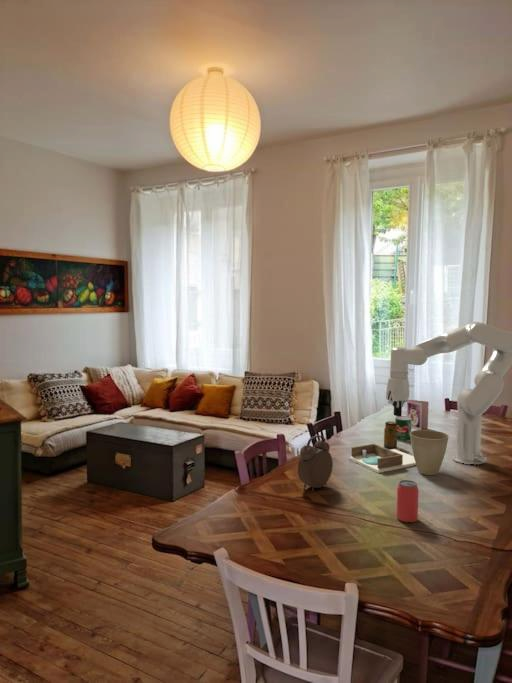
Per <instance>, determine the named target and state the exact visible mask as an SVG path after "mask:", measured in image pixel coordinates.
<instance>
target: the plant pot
mask: <svg viewBox="0 0 512 683" xmlns="http://www.w3.org/2000/svg"><path fill="white" fill-rule="evenodd" d="M410 438H411V441H410V443H411V444H410V446H411V450H412V454H413V455H412V456H414V459H415V462H416V465H415V466H416V468H417V470H418V473H419V474H422V475H425V476H435V475H438V473H439V471H440V469H441V466H442V463H443V461H444V459H445V458H444V457H445V455H446V451H447V447H448V443H449V442H448V441H449V434H447V433H445V432H443V431H438V430H431V429H421V430H417V429H414V430H411V432H410Z"/></svg>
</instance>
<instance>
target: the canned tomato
mask: <svg viewBox="0 0 512 683" xmlns="http://www.w3.org/2000/svg"><path fill="white" fill-rule="evenodd" d="M394 419H395V420H394V422H396V423H397V442H398V441H399V442H411V438H410V432H412V428H411V418H410V417H407V415H406V416H405V415H402V416H399V417H398V416H395V417H394Z"/></svg>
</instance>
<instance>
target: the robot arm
mask: <svg viewBox="0 0 512 683" xmlns="http://www.w3.org/2000/svg"><path fill="white" fill-rule="evenodd" d="M475 343H477V344H479V345H482V346H485V347H487V348H488V347H489V348H492V351H491V352H492V353H491V355H490V357H489V358H488V360H487V362H485V364H484V365H483V367H481V369H480V370H479V372H477V374H476V375H475V377H474V379H473V380H474V385H475V386H474V388H464V389H462V390H461V391H460V392H459V394H458V396H457V400H456V401H457V402H456V405H457V408H456V409H457V425H456V427H457V430H456V431H457V432H456V453H454V454H453V455H452V460H453V461H455V462H456V463H459V464H463V463H464V465H470V464H474V465H473V466H476V464H477V465H482V464H484V463H486V461H487V460H488V459H487V458H488V457H486V456H483V452H481V440H482V439H481V438H482V437H481V436H482V435H481V434H482V415H484V413H486V412H487V410H489V408H491V406H492V405H493V403H494V402H495V401H496V400H497V399H498V397H499V396H500V395H501V393H502V391H503V390H504V386H505V383H504V379H503V377H504V376H505V374H506V373H507V372H508V370H509V369H510V367H511V366H512V331H510V330H505V329H502V328H499V327H496V326H492V325H489V324H487V323H484V322H480V321H473V322H469V323H466V324H464V325H462V326H459V327H457V328H455V329H453V330H451V331H448V332H445V333H443V334H440V335H438V336H436V337H433V338H432V337H431V338H430V339H429V338H428V339H427V340H424V341H422V342H419V343H417V344H415V345H413V346H411V347H410V348H407V347H401V346H399V347H396V346H394V347H392V348H391V350H390V366H389V367H390V368H389V371H390V372H389V373H390V375H389V378H387V380H388V381H387V384H386V391H385V393H386V394H385V399H386V400H388V404H390V405H392V407H393V416H395V417H397V416H398V417H399V416H403V415H402V413H403V412H402V411H403V410H402V409H403V406H404V404H405V403H407V401H408V400H409V398H410V382H409V378H408V376H409V365H414V366H422V365H424V364H426V363H427V360H428V358H430V357H434V356H437V355H440V354H448V353H453V352H455V351H458V350H460V349H462V348H465V347H467V346H469V345H472V344H475Z"/></svg>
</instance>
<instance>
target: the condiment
mask: <svg viewBox="0 0 512 683" xmlns="http://www.w3.org/2000/svg"><path fill="white" fill-rule="evenodd" d="M384 425H385V427H384V430H383V431H384V432H383V433H384V434H383V444H380V446H381V447H384V448H386V449H389V450H391V449H396V450H398V451H400V450H402V448H401V447H399V446H398V440H397V423H396V422H395V421H390V420H388V421H386V422H385V424H384Z"/></svg>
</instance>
